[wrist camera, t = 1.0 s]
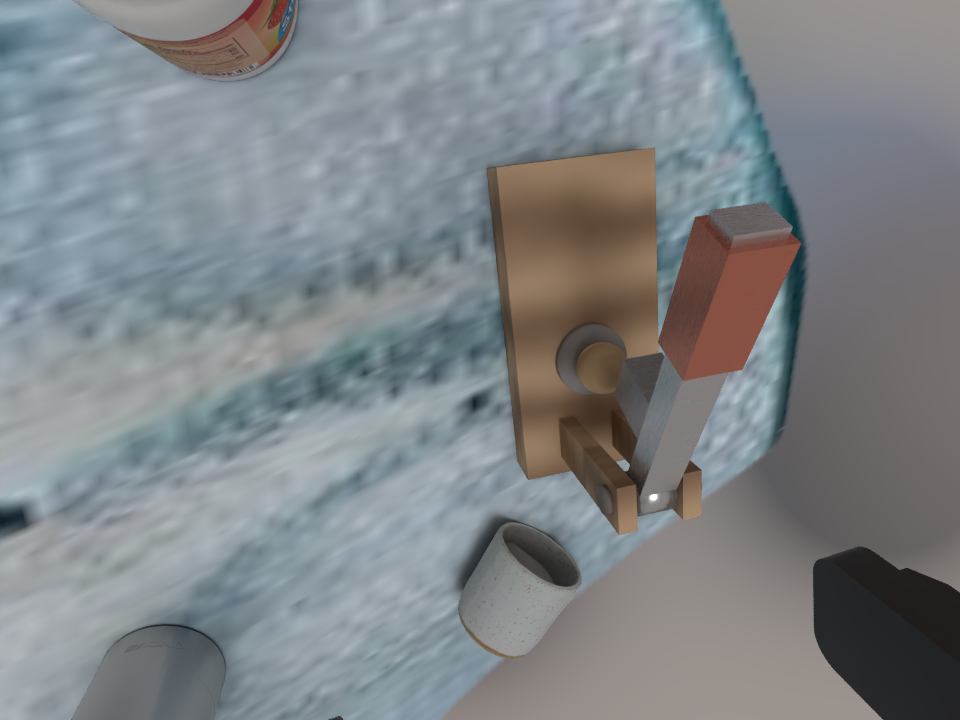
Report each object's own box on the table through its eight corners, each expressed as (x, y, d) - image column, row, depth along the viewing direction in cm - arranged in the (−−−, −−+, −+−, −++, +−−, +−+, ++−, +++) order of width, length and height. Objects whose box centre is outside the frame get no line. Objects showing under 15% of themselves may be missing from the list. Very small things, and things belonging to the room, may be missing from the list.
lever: (637, 442, 40) (675, 515, 37) (596, 450, 40) (631, 526, 36) (727, 159, 25) (808, 233, 22) (663, 168, 25) (734, 244, 21)
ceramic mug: (445, 588, 50) (462, 658, 43) (489, 510, 48) (514, 568, 41) (547, 619, 53) (578, 688, 46) (591, 546, 52) (630, 606, 45)
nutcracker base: (642, 436, 49) (741, 525, 37) (518, 462, 48) (576, 564, 35) (634, 149, 42) (754, 137, 29) (486, 168, 40) (546, 163, 28)
